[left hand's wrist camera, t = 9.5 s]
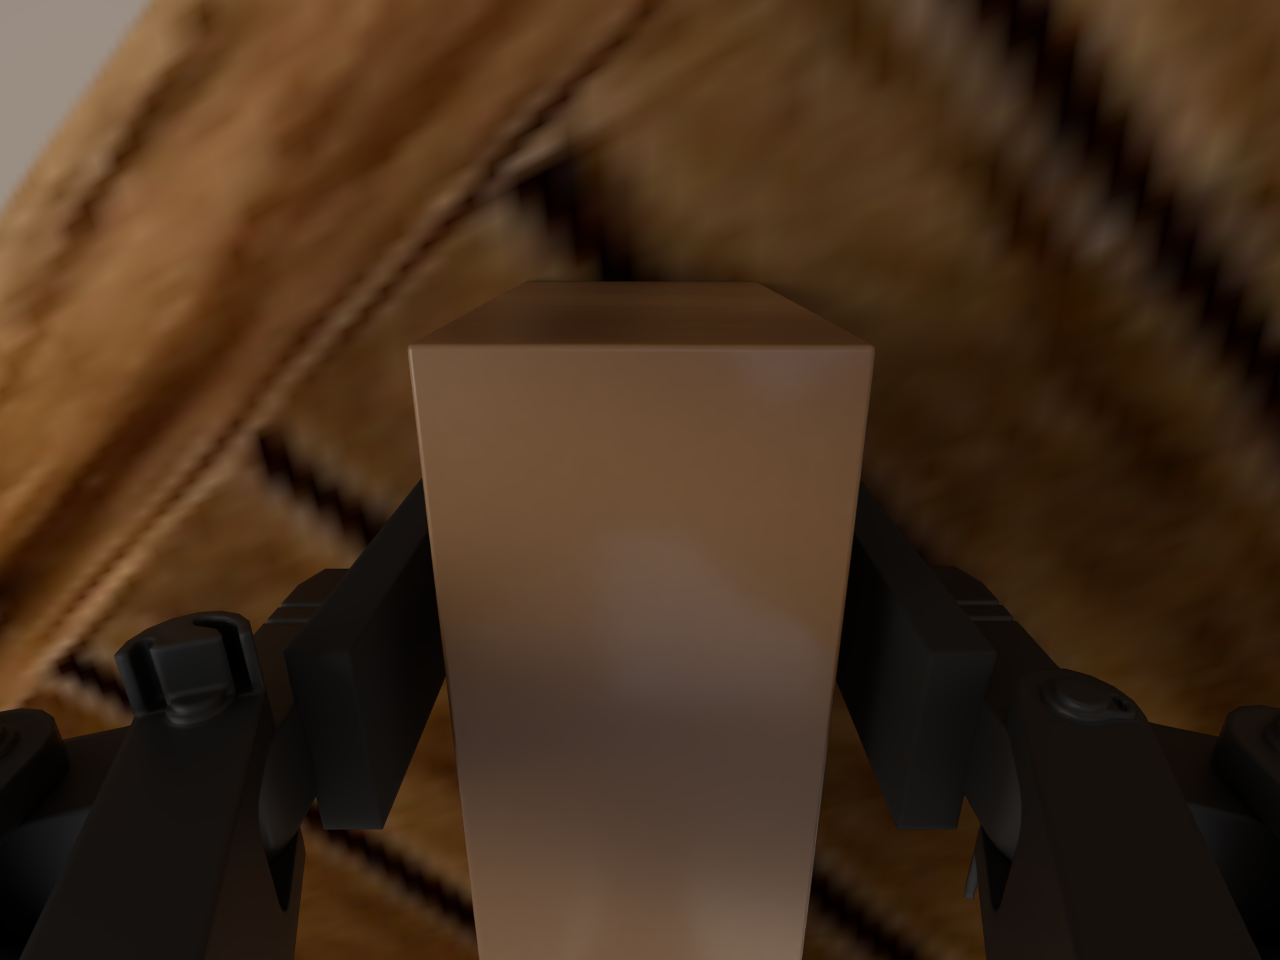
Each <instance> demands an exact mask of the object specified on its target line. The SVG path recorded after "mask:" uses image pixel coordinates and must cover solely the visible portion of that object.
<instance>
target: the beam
mask: <svg viewBox="0 0 1280 960" xmlns="http://www.w3.org/2000/svg"><path fill="white" fill-rule="evenodd" d="M407 352H408V360H409V369H410V377H411V386H412V394H413V403H414V411H415V420H416V428H417V437H418V445H419V453H420V462H421V470H422V479H423V487H424V496H425V504H426V513H427V521H428V529H429V538H430V546H431V555H432V563H433V572H434V580H435V589H436V597H437V606H438V614H439V622H440V631H441V639H442V648H443V656H444V665H445V673H446V682H447V690H448V699H449V707H450V715H451V724H452V732H453V741H454V749H455V758H456V766H457V775H458V783H459V792H460V800H461V808H462V817H463V825H464V834H465V842H466V851H467V859H468V868H469V876H470V885H471V893H472V901H473V910H474V918H475V927H476V935H477V944H478V952H479V960H802V955H803V946H804V938H805V930H806V922H807V914H808V905H809V897H810V889H811V881H812V872H813V864H814V856H815V848H816V839H817V831H818V823H819V815H820V806H821V798H822V790H823V782H824V774H825V765H826V757H827V749H828V741H829V732H830V724H831V716H832V708H833V699H834V691H835V683H836V675H837V666H838V658H839V650H840V642H841V634H842V625H843V617H844V609H845V601H846V592H847V584H848V576H849V568H850V559H851V551H852V543H853V535H854V527H855V518H856V510H857V502H858V494H859V485H860V477H861V469H862V461H863V452H864V444H865V436H866V428H867V419H868V411H869V403H870V395H871V387H872V378H873V370H874V362H875V354H876V349H875V346H874V345H872V344H871V343H869V342H867V341H865V340H863V339H861V338H859V337H858V336H856V335H854V334H852V333H850V332H848V331H846V330H845V329H843V328H841V327H839V326H837V325H835V324H833V323H832V322H830V321H828V320H826V319H824V318H822V317H821V316H819V315H817V314H815V313H813V312H811V311H809V310H808V309H806V308H804V307H802V306H800V305H798V304H796V303H795V302H793V301H791V300H789V299H787V298H785V297H783V296H782V295H780V294H778V293H776V292H774V291H772V290H770V289H769V288H767V287H765V286H763V285H761V284H759V283H757V282H622V281H527V282H524V283H523V284H521V285H519V286H517V287H515V288H513V289H511V290H510V291H508V292H506V293H504V294H502V295H500V296H499V297H497V298H495V299H493V300H491V301H489V302H487V303H486V304H484V305H482V306H480V307H478V308H476V309H475V310H473V311H471V312H469V313H467V314H465V315H463V316H462V317H460V318H458V319H456V320H454V321H452V322H451V323H449V324H447V325H445V326H443V327H441V328H439V329H438V330H436V331H434V332H432V333H430V334H428V335H427V336H425V337H423V338H421V339H419V340H417V341H415V342H414V343H412V344H410V345H409V346H408V349H407Z"/></svg>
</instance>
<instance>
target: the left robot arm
mask: <svg viewBox="0 0 1280 960" xmlns="http://www.w3.org/2000/svg"><path fill="white" fill-rule="evenodd" d="M114 657H115V660H116V663H117V666H118V669H119V672H120V675H121V678H122V681H123V684H124V687H125V690H126V692H127V695H128V698H129V701H130V704H131V707H132V710H133V713H134V716H135V717H134V719H133V721H132V724H131V725H130V726H126V727H122V728H117V729H112V730H108V731H103V732H98V733H93V734H88V735H83V736H78V737H73V738H68V739H64V740H62V738H61V735H60V733H59V730H58V727H57V725H56V722H55V720H54V717H52V716H51V715H49V714H48V713H46V712H45V711H43V710H38V709H24V708H20V709H14V710H8V711H2V712H0V960H294V952H295V943H296V935H297V926H298V917H299V908H300V899H301V890H302V881H303V872H304V863H305V855H306V853H305V847H304V841H303V836H302V832H301V828H300V825H301V823H302V821H303V819H304V817H305V816H306V814H307V812H308V810H309V808H310V806H311V805H312V803H313V801H314V799H315V797H316V798H317V802H318V807H319V811H320V815H321V820H322V824H323V828H324V829H383V827H384V825H385V822H386V820H387V817H388V815H389V812H390V810H391V808H392V805H393V803H394V800H395V798H396V795H397V793H398V791H399V788H400V786H401V783H402V781H403V778H404V776H405V774H406V771H407V769H408V766H409V764H410V761H411V759H412V757H413V754H414V752H415V749H416V747H417V744H418V742H419V740H420V737H421V735H422V732H423V730H424V727H425V725H426V723H427V720H428V718H429V715H430V713H431V710H432V708H433V706H434V703H435V701H436V698H437V696H438V693H439V691H440V689H441V686H442V684H443V681H444V679H445V676H446V673H445V665H444V656H443V648H442V639H441V631H440V622H439V614H438V606H437V597H436V589H435V580H434V572H433V563H432V555H431V546H430V538H429V529H428V521H427V513H426V504H425V496H424V487H423V479H421V480H420V481H419V482H418V484H417V485H416V486H415V487H414V489H413V490H412V491H411V492H410V494H409V495H408V496H407V497H406V499H405V500H404V501H403V502H402V504H401V505H400V506H399V507H398V509H397V510H396V511H395V512H394V514H393V515H392V516H391V517H390V519H389V520H388V521H387V522H386V524H385V525H384V526H383V527H382V529H381V530H380V531H379V533H378V534H377V535H376V536H375V538H374V539H373V540H372V541H371V543H370V544H369V545H368V546H367V548H366V549H365V550H364V551H363V553H362V554H361V555H360V556H359V558H358V559H357V560H356V561H355V563H354V564H353V565H352V566H351V568H350V569H324V570H323V571H321V572H319V573H318V574H316V575H314V576H313V577H311V578H309V579H308V580H306V581H304V582H303V583H301V584H299V585H298V586H297V587H296V588H295V589H294V590H293V592H292V593H291V594H290V595H289V596H288V597H287V598H286V599H285V600H284V602H283V603H282V606H281V608H277V609H276V610H275V612H274V613H273V614H272V615H271V616H270V617H269V618H268V619H267V624H263V625H262V626H261V627H260V628H259V629H258V631H257V632H256V633H255V634H254V635H253V633H252V629H251V625H250V621H249V620H247V619H246V618H244V617H243V616H241V615H240V614H237V613H231V612H225V611H212V612H198V613H194V614H190V615H185V616H181V617H177V618H173V619H170V620H168V621H165V622H163V623H160V624H158V625H155V626H153V627H150V628H148V629H146V630H145V631H143V632H141V633H140V634H138V635H137V636H135V637H133V638H132V639H130V640H128V641H127V642H126V643H125V644H124V645H123V646H122V647H121V648H120V649H119V650H118V652H117V653H116V654H115V655H114ZM836 681H837V684H838V686H839V689H840V691H841V693H842V696H843V698H844V701H845V703H846V706H847V708H848V710H849V713H850V715H851V718H852V720H853V723H854V725H855V727H856V730H857V732H858V735H859V737H860V740H861V742H862V744H863V747H864V749H865V752H866V754H867V757H868V759H869V761H870V764H871V766H872V769H873V771H874V774H875V776H876V778H877V781H878V783H879V786H880V788H881V791H882V793H883V795H884V798H885V800H886V803H887V805H888V808H889V810H890V812H891V815H892V817H893V820H894V822H895V825H896V827H897V829H956V828H957V824H958V820H959V815H960V811H961V807H962V802H963V798H964V794H965V796H966V797H967V799H968V801H969V803H970V805H971V807H972V808H973V810H974V812H975V814H976V816H977V817H978V819H979V821H980V823H981V824H980V828H979V832H978V836H977V840H976V844H975V848H974V852H973V856H972V860H971V865H970V869H969V873H968V877H967V881H966V886H965V892H964V897H966V898H969V899H974V895H975V891H976V887H977V885H978V888H979V897H980V906H981V915H982V923H983V932H984V941H985V950H986V959H987V960H1280V708H1274V707H1268V706H1262V705H1255V706H1242V707H1238V708H1236V709H1235V710H1233V711H1232V712H1230V713H1229V714H1228V715H1227V717H1226V720H1225V722H1224V725H1223V727H1222V730H1221V733H1220V735H1219V737H1217V736H1212V735H1207V734H1202V733H1198V732H1193V731H1188V730H1183V729H1178V728H1173V727H1168V726H1163V725H1158V724H1154V723H1151V722H1148V720H1147V718H1146V716H1145V715H1144V713H1143V712H1142V711H1141V709H1140V708H1139V707H1138V706H1137V704H1136V703H1135V702H1134V701H1133V700H1132V699H1131V698H1129V697H1128V696H1126V695H1125V694H1124V693H1122V692H1121V691H1120V690H1118V689H1117V688H1115V687H1114V686H1112V685H1110V684H1107V683H1105V682H1103V681H1101V680H1099V679H1097V678H1095V677H1093V676H1090V675H1086V674H1083V673H1079V672H1076V671H1072V670H1068V669H1061V668H1059V667H1058V666H1057V665H1056V664H1055V663H1054V662H1053V661H1052V659H1051V658H1050V657H1049V656H1048V655H1047V654H1046V653H1045V652H1044V651H1043V650H1042V648H1041V647H1040V646H1039V645H1038V644H1037V643H1036V642H1035V641H1034V640H1033V638H1032V637H1031V636H1030V635H1029V634H1028V633H1027V632H1026V631H1025V630H1024V628H1023V627H1022V626H1021V625H1020V624H1019V623H1018V622H1017V621H1013V616H1012V615H1011V614H1010V613H1009V612H1008V611H1007V610H1006V609H1005V607H1004V606H1003V605H999V601H998V600H997V599H996V598H995V596H994V595H993V594H992V593H991V592H990V591H989V590H988V589H987V588H986V586H985V585H984V584H983V583H982V582H980V581H978V580H977V579H975V578H973V577H972V576H970V575H968V574H967V573H965V572H963V571H962V570H960V569H958V568H956V567H929V566H928V565H927V564H926V563H925V561H924V560H923V559H922V558H921V556H920V555H919V554H918V553H917V551H916V550H915V549H914V548H913V546H912V545H911V544H910V543H909V541H908V540H907V539H906V538H905V536H904V535H903V534H902V533H901V531H900V530H899V529H898V528H897V526H896V525H895V524H894V522H893V521H892V520H891V519H890V517H889V516H888V515H887V514H886V512H885V511H884V510H883V509H882V507H881V506H880V505H879V504H878V502H877V501H876V500H875V499H874V497H873V496H872V495H871V494H870V492H869V491H868V490H867V489H866V487H865V486H864V485H863V484H862V482H861V481H860V485H859V494H858V502H857V510H856V518H855V527H854V535H853V543H852V551H851V559H850V568H849V576H848V584H847V592H846V601H845V609H844V617H843V625H842V634H841V642H840V650H839V658H838V666H837V675H836Z"/></svg>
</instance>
